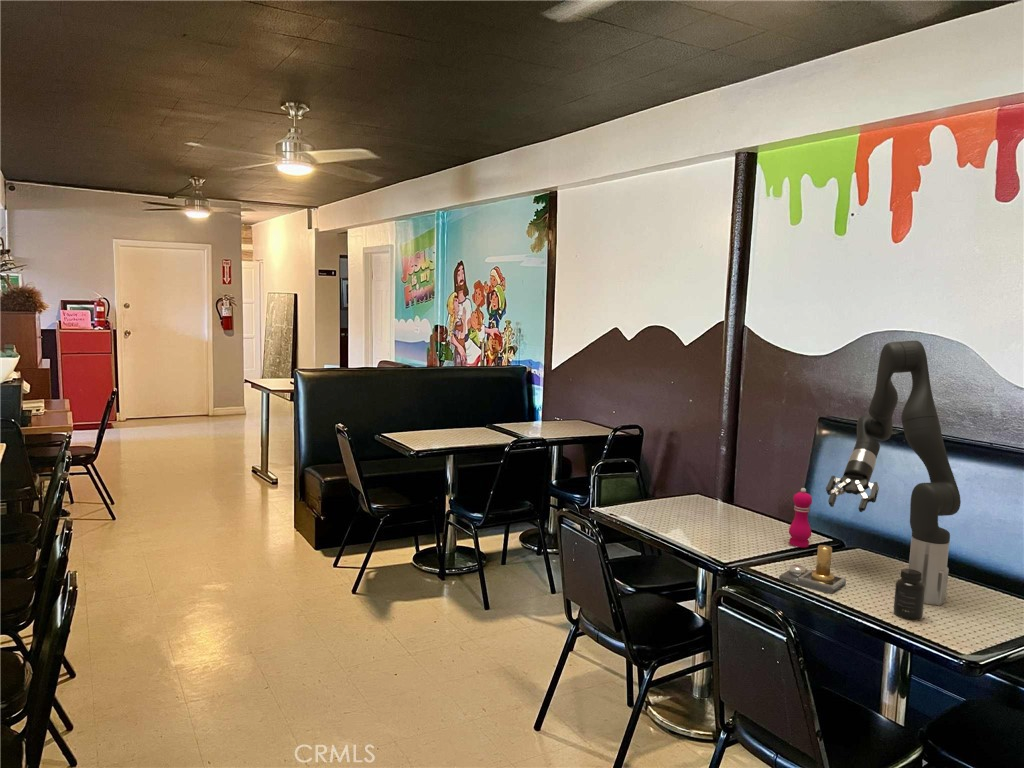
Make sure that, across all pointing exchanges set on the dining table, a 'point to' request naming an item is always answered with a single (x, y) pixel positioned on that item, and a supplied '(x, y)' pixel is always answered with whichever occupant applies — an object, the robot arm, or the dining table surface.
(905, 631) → the dining table surface
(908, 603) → the supplement bottle
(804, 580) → the carrier
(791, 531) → the pepper mill
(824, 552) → the brass knob
